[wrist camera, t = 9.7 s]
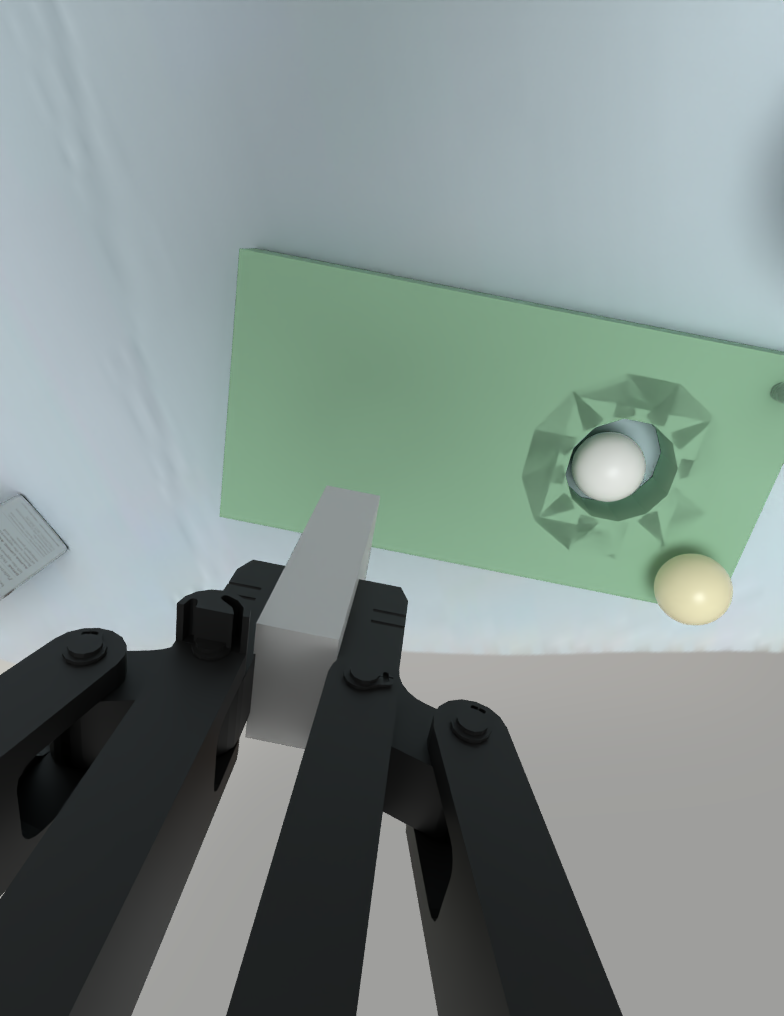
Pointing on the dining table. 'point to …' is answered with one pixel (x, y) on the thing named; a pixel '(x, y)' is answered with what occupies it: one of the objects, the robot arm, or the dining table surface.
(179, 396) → the dining table surface
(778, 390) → the flag
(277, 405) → the green
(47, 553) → the skincare box
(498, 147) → the dining table surface
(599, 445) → the ball
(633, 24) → the dining table surface
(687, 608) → the yellow ball
